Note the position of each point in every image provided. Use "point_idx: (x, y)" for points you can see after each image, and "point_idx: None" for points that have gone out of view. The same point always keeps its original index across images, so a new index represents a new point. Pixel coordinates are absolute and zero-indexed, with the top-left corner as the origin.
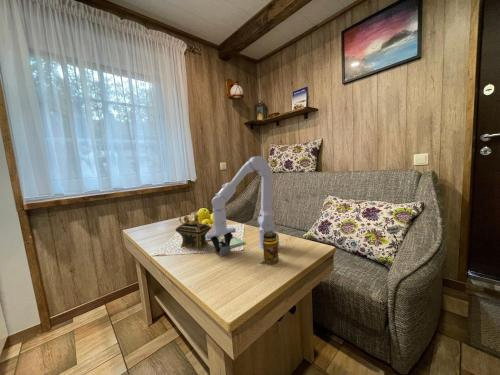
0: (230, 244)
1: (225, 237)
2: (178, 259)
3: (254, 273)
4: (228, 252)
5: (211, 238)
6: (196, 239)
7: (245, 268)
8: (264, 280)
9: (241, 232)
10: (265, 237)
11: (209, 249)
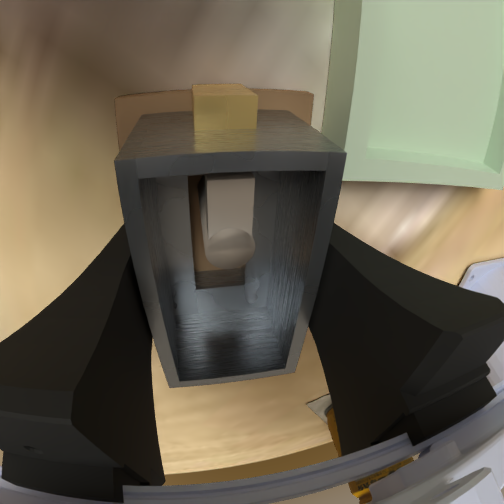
0: (423, 70)
1: (368, 354)
2: None
3: (241, 437)
4: (248, 313)
5: (25, 462)
6: None
7: (235, 418)
8: (241, 453)
9: None
10: None
11: None
